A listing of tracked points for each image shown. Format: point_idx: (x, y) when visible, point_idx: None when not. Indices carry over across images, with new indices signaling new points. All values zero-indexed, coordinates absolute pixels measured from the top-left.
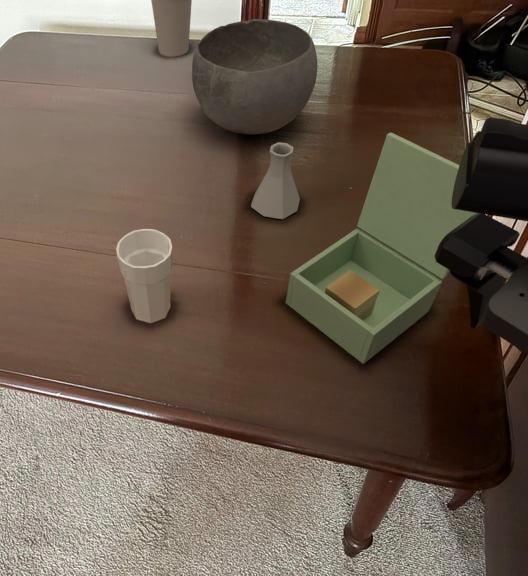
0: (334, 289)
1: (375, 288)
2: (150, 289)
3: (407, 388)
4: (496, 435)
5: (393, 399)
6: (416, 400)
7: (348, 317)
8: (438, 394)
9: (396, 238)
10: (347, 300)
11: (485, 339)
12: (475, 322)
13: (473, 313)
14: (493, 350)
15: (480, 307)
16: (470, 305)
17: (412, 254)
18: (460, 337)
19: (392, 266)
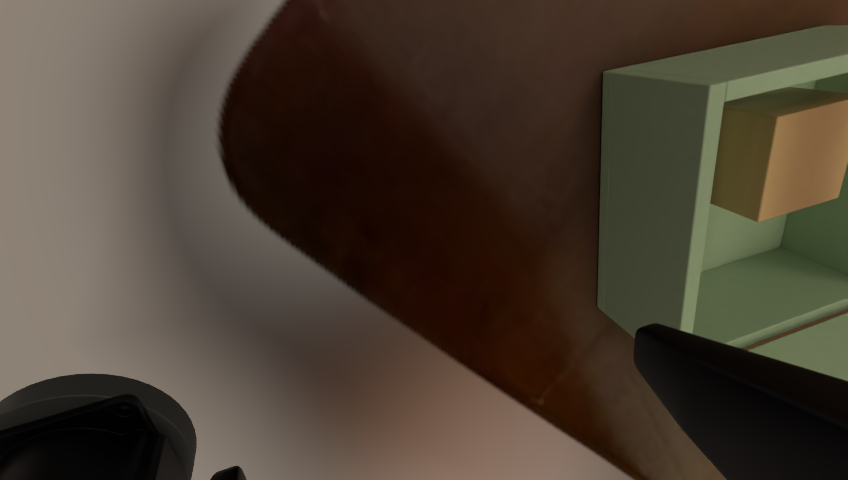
0: (846, 111)
1: (769, 215)
2: None
3: (494, 122)
4: (288, 223)
5: (492, 63)
6: (458, 116)
7: (787, 66)
8: (442, 179)
9: (844, 349)
10: (804, 117)
11: (485, 363)
12: (687, 347)
13: (763, 366)
14: (457, 360)
15: (840, 422)
16: (843, 381)
17: (781, 355)
18: (517, 322)
19: (750, 301)
